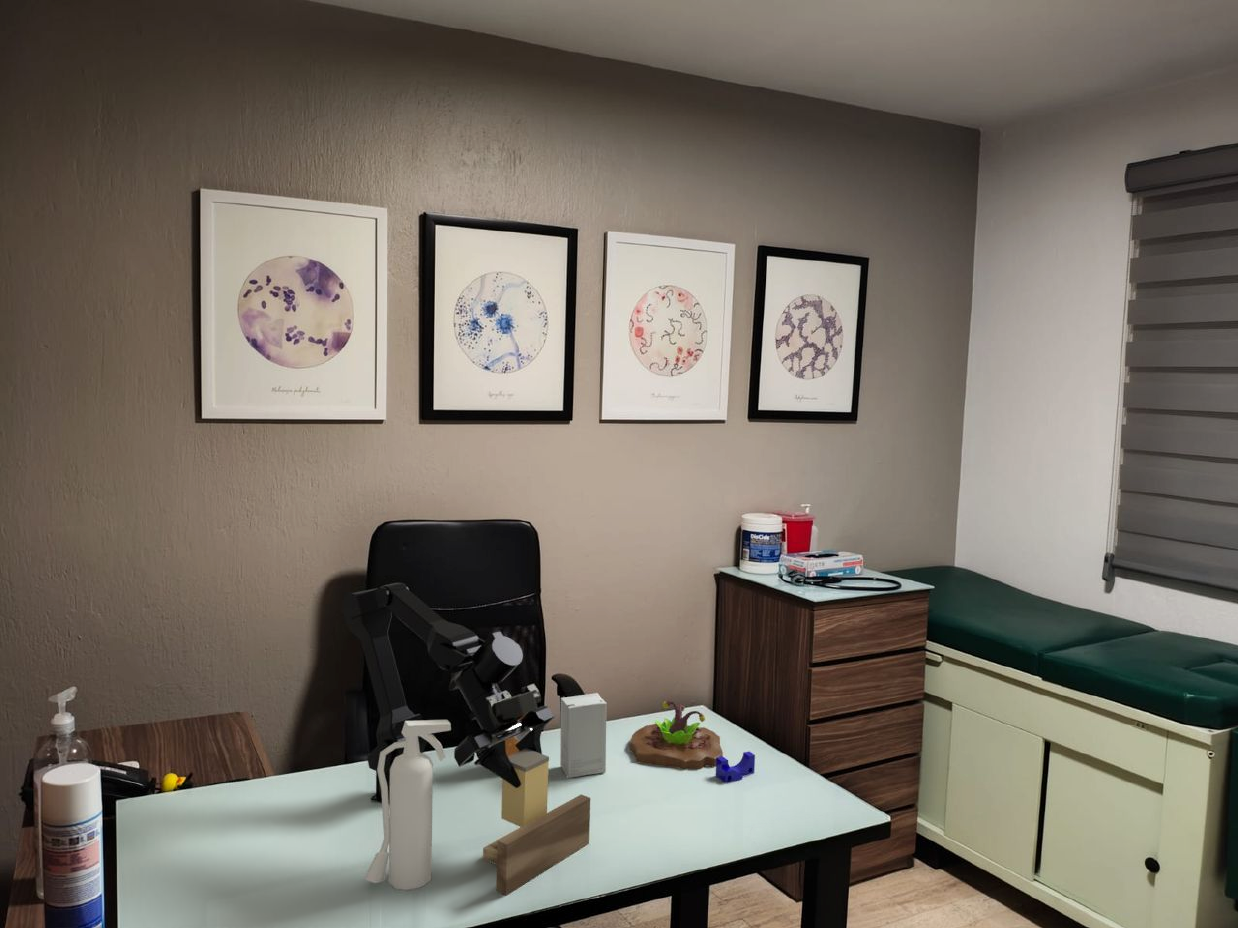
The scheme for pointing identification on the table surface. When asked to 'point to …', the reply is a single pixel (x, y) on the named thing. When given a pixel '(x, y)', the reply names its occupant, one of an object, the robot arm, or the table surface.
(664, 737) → the plant
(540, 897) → the table surface
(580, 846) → the wall board
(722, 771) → the cable holder
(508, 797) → the grey-topped square block
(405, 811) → the fire extinguisher
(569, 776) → the skincare box
